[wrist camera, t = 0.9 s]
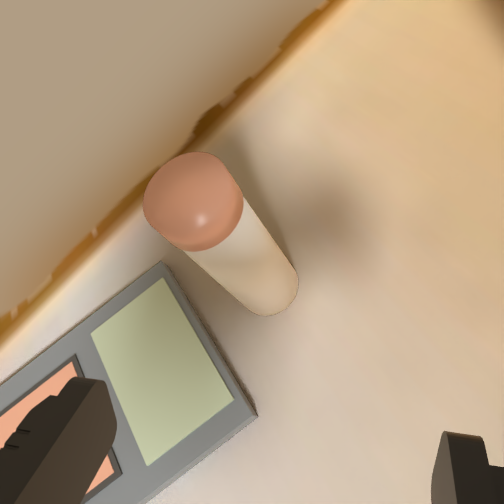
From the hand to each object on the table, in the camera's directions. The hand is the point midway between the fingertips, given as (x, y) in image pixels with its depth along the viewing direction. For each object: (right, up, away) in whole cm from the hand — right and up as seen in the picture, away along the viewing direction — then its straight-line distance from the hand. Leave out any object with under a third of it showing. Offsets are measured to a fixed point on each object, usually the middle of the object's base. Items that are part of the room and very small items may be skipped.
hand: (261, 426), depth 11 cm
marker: (+1, +2, +23) cm, 23 cm away
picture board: (-11, -7, +23) cm, 26 cm away
